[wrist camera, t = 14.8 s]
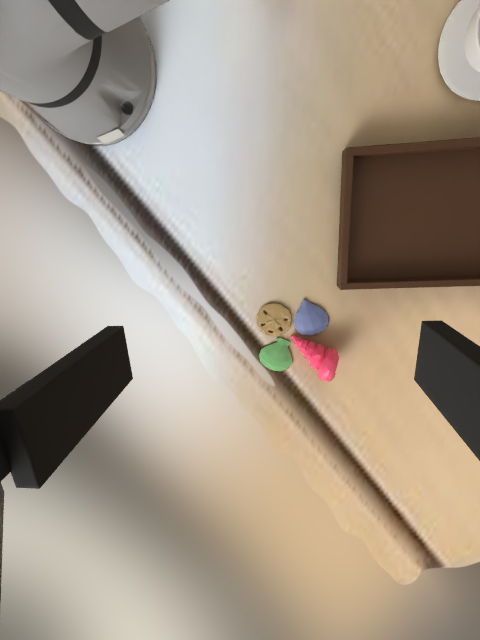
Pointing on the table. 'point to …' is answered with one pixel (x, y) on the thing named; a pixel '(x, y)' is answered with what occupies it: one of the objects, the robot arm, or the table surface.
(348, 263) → the tray
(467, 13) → the teacup
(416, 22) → the table surface
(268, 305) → the toy pieces
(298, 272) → the table surface
